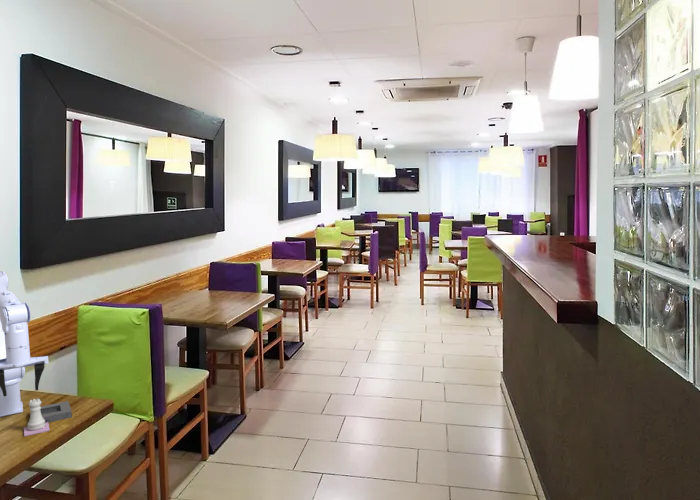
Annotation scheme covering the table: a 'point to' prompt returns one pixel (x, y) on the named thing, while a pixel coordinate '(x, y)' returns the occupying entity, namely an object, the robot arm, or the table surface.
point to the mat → (28, 432)
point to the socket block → (56, 411)
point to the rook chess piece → (35, 416)
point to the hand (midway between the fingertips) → (21, 392)
